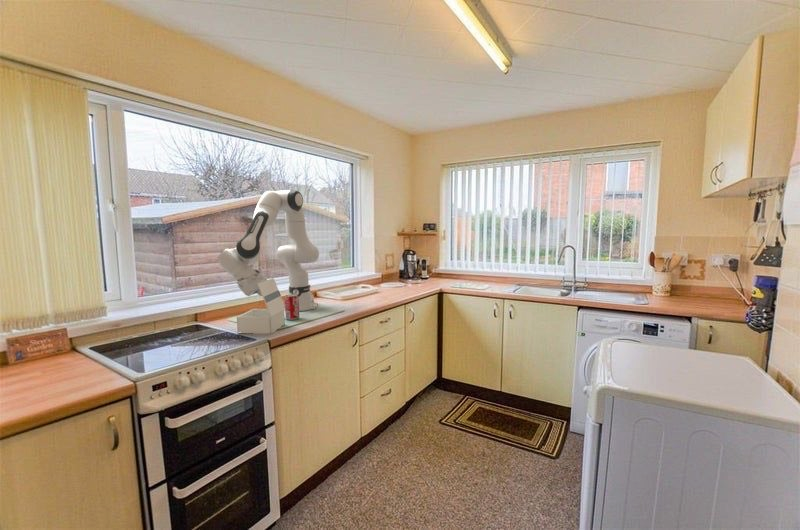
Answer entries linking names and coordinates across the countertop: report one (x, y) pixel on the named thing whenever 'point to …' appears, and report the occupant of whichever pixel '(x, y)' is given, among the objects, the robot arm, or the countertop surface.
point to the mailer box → (260, 321)
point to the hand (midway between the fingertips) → (267, 297)
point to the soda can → (292, 306)
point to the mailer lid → (271, 296)
